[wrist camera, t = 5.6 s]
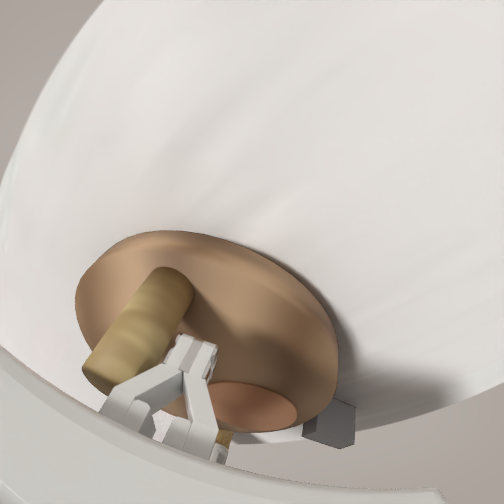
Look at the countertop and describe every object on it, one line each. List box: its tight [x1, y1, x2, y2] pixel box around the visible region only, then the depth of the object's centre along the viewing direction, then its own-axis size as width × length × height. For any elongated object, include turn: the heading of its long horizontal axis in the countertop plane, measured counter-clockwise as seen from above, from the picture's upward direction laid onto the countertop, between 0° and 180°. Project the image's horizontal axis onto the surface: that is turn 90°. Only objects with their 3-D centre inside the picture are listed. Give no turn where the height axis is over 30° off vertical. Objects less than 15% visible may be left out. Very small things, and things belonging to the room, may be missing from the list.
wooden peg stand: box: [75, 230, 338, 433], centre depth 16 cm, size 18×18×8 cm
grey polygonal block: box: [302, 398, 355, 449], centre depth 20 cm, size 4×2×4 cm, turn 57°
